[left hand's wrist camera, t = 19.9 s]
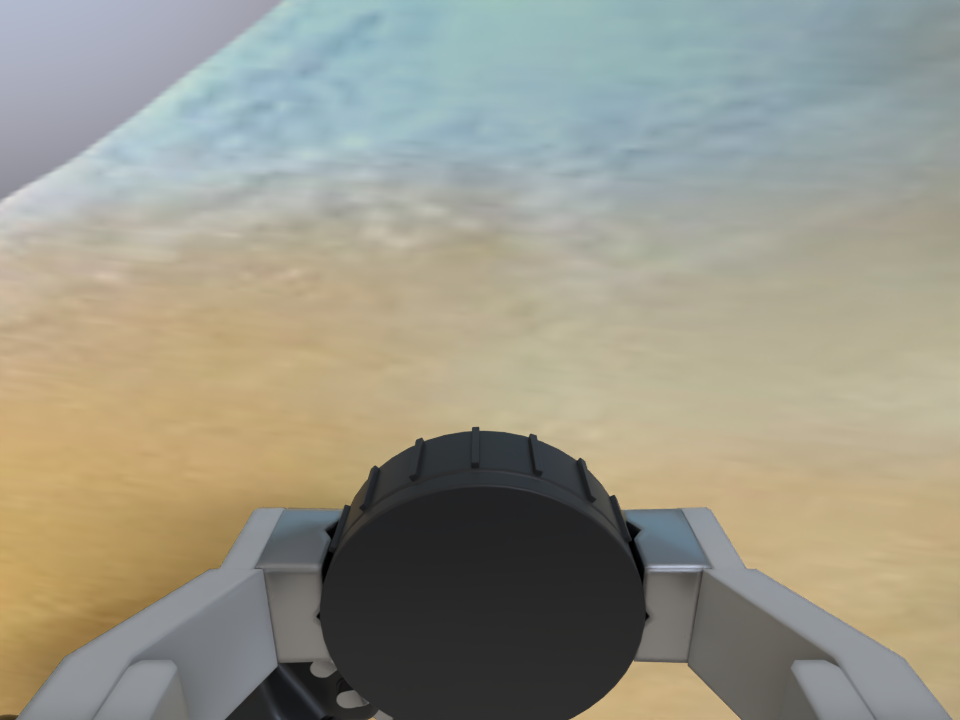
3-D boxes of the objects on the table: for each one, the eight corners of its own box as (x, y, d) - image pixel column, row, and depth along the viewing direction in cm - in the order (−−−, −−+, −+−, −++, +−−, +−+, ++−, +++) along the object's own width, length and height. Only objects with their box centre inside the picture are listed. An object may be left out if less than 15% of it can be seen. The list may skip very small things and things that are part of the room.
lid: (594, 675, 11) (610, 758, 10) (330, 646, 11) (306, 727, 10) (658, 446, 10) (690, 506, 8) (346, 407, 9) (322, 460, 8)
